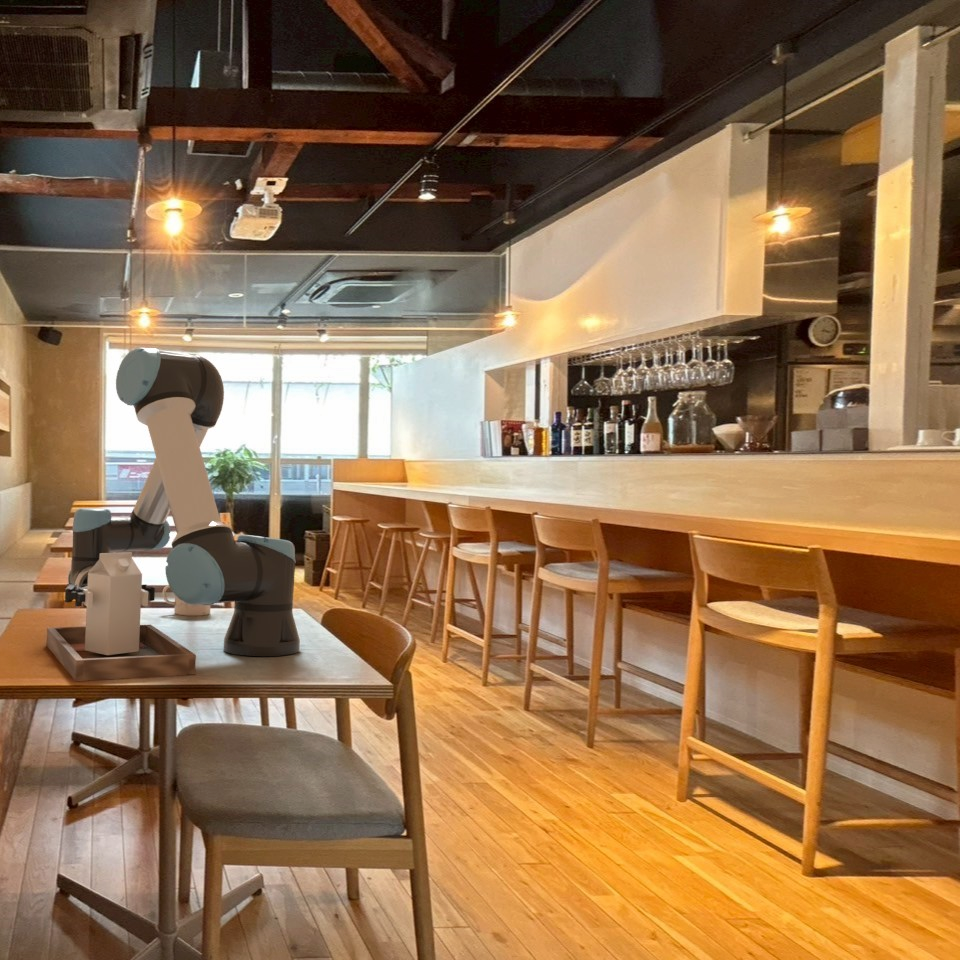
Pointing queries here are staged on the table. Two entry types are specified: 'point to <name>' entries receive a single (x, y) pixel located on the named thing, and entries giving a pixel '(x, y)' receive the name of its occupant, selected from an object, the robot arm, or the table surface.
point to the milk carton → (114, 605)
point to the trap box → (167, 664)
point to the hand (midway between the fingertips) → (118, 599)
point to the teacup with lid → (186, 606)
